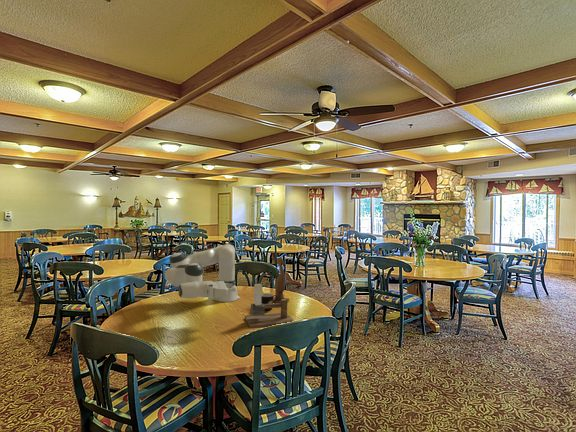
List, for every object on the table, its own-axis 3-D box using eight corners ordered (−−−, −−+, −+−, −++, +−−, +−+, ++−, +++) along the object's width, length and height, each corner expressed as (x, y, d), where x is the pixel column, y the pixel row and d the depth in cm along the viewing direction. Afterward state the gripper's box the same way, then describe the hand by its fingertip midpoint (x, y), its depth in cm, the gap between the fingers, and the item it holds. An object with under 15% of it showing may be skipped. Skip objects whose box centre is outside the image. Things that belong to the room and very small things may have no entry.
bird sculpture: (284, 306, 224) (286, 259, 223) (268, 303, 228) (270, 257, 227) (289, 301, 235) (292, 257, 234) (274, 299, 239) (276, 255, 238)
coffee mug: (261, 312, 208) (261, 297, 208) (259, 308, 216) (259, 293, 216) (279, 311, 211) (279, 296, 211) (276, 307, 220) (276, 292, 219)
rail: (253, 311, 192) (254, 284, 192) (259, 310, 193) (260, 283, 193) (255, 313, 189) (255, 285, 188) (261, 312, 190) (261, 285, 189)
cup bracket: (244, 318, 197) (245, 298, 197) (286, 315, 205) (286, 295, 204) (249, 328, 182) (250, 306, 181) (294, 324, 189) (294, 303, 189)
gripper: (207, 289, 193) (231, 288, 197) (210, 299, 174) (236, 297, 178) (207, 279, 193) (231, 277, 197) (210, 287, 173) (236, 286, 178)
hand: (234, 287), depth 187 cm, fingers open, 8 cm apart
